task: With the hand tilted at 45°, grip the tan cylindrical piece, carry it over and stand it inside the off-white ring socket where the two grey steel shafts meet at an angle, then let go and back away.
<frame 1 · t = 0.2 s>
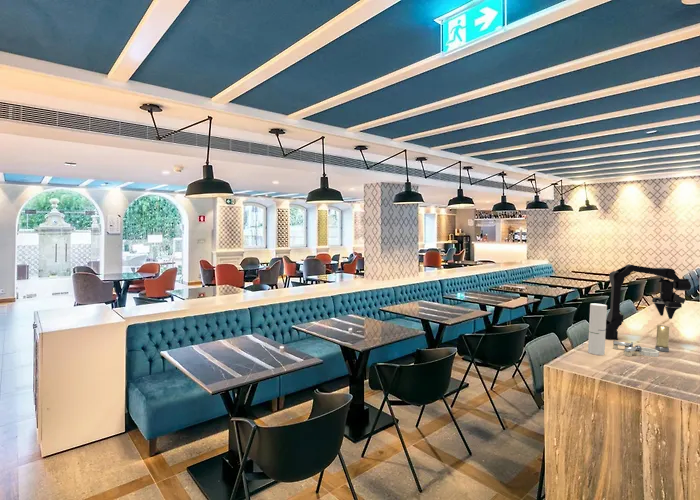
hand: (665, 317, 219), 15 cm above the table, tool pointing down, fingers open, 9 cm apart
tan cylindrical piece: (661, 350, 204), on the table
light grey tall block: (596, 353, 196), on the table
shaft b: (622, 349, 204), on the table
socket ring: (647, 353, 197), on the table
shaft a: (632, 355, 194), on the table
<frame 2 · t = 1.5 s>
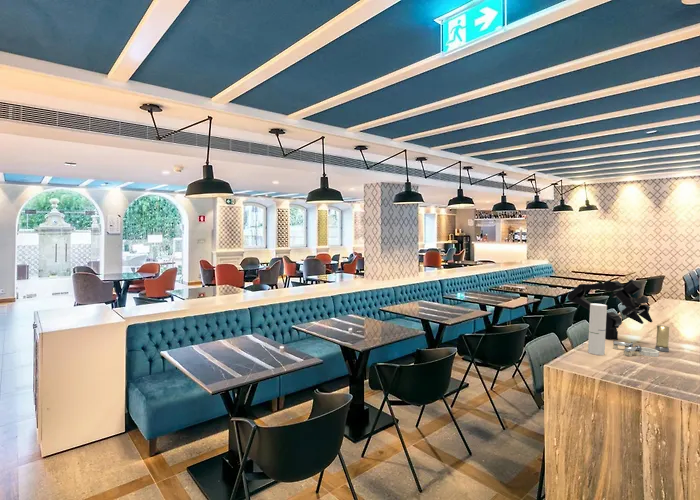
hand: (647, 322, 210), 13 cm above the table, tool tilted 45°, fingers open, 9 cm apart
nothing on the table moved.
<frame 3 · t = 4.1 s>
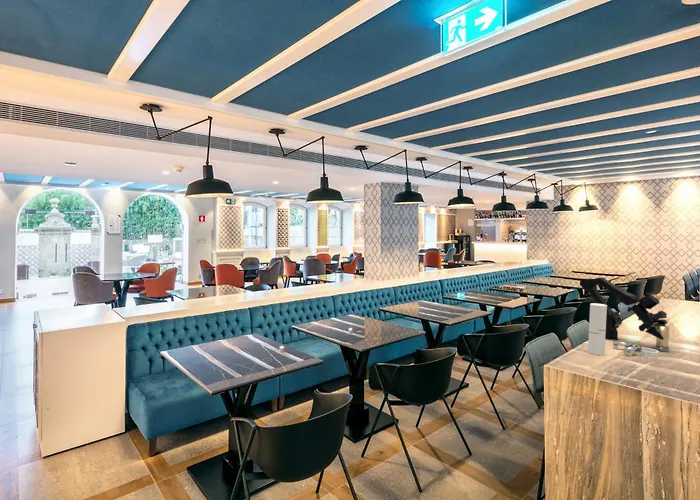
hand: (665, 338, 202), 7 cm above the table, tool tilted 45°, fingers closed on tan cylindrical piece, 5 cm apart
tan cylindrical piece: (661, 350, 204), on the table, touching gripper
everything else where it was.
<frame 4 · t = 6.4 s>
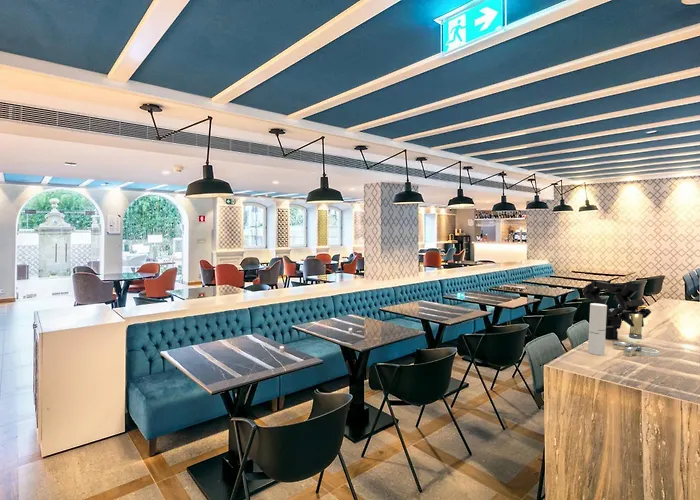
hand: (637, 326, 204), 12 cm above the table, tool tilted 45°, fingers closed on tan cylindrical piece, 5 cm apart
tan cylindrical piece: (635, 337, 206), point 6 cm above the table, touching gripper
everything else where it was.
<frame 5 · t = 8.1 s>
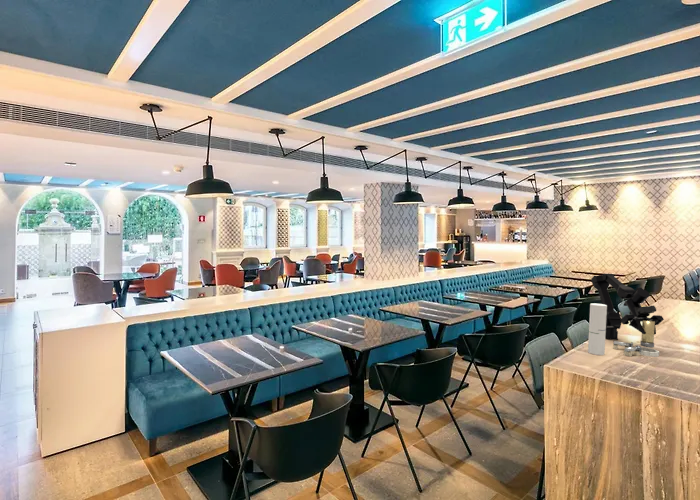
hand: (649, 334, 196), 11 cm above the table, tool tilted 45°, fingers closed on tan cylindrical piece, 5 cm apart
tan cylindrical piece: (647, 345, 197), point 4 cm above the table, touching gripper
everything else where it was.
when the fingers open (8 cm above the table, at t = 9.1 s): tan cylindrical piece drops 1 cm, resting in socket ring.
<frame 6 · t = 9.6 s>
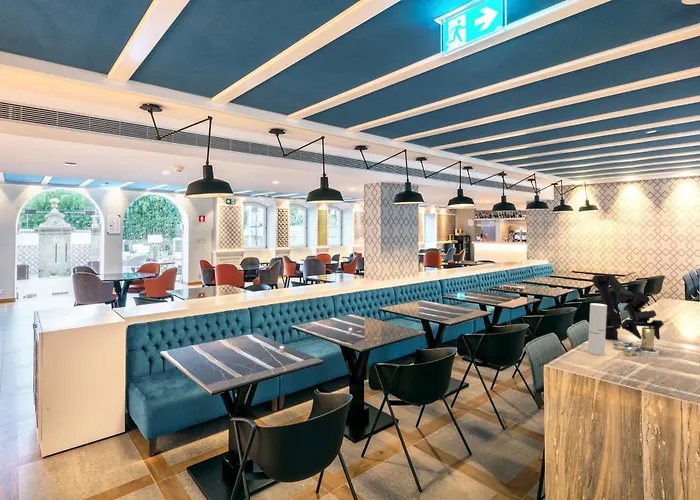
hand: (649, 338, 196), 8 cm above the table, tool tilted 45°, fingers open, 9 cm apart
tan cylindrical piece: (646, 353, 197), resting in socket ring
everything else where it was.
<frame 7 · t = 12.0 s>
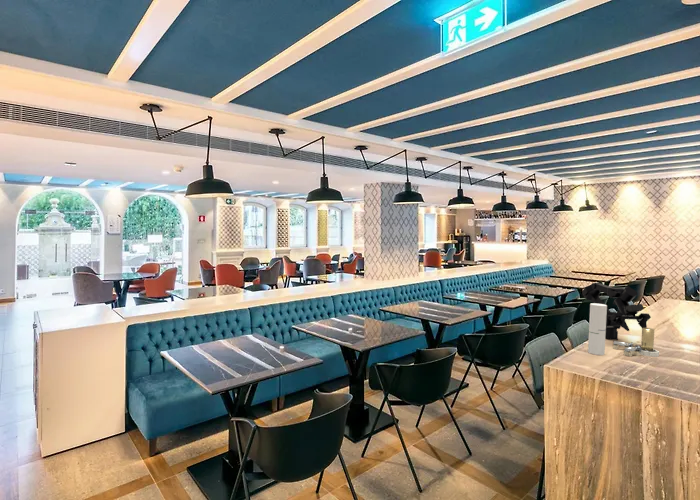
hand: (637, 331, 204), 10 cm above the table, tool tilted 45°, fingers open, 9 cm apart
nothing on the table moved.
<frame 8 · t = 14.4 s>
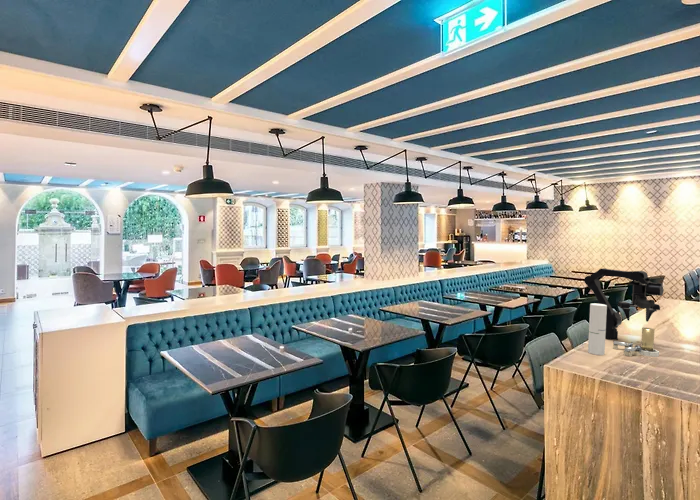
hand: (637, 321, 215), 13 cm above the table, tool pointing down, fingers open, 9 cm apart
nothing on the table moved.
at the end: tan cylindrical piece 0.1 cm from the socket ring (horizontally); tan cylindrical piece tilted 0°; the gripper is holding nothing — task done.
